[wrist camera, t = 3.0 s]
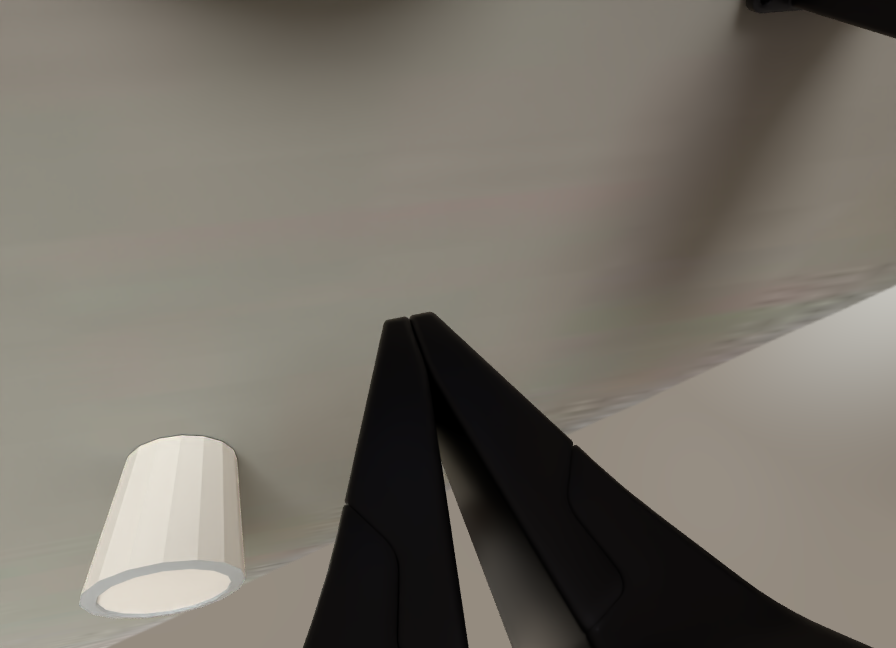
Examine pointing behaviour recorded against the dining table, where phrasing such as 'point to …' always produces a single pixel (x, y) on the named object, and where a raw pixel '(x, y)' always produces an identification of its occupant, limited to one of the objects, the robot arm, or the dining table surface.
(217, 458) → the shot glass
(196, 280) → the dining table surface
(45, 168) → the dining table surface
